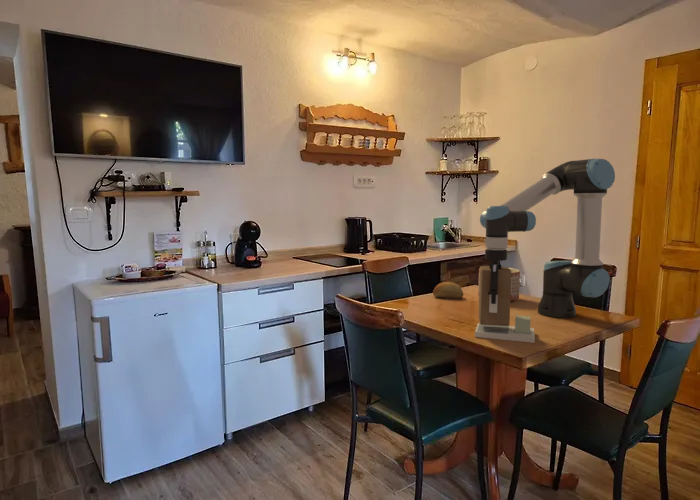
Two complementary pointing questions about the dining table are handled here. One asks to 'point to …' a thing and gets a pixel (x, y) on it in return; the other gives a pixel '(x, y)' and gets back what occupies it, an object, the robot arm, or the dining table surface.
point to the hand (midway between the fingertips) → (494, 308)
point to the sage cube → (522, 324)
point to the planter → (514, 284)
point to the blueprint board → (503, 333)
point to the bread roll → (448, 290)
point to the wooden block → (503, 297)
